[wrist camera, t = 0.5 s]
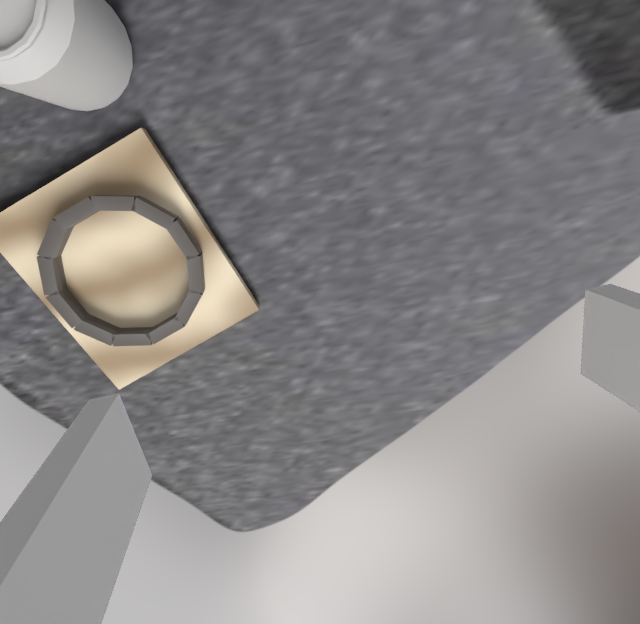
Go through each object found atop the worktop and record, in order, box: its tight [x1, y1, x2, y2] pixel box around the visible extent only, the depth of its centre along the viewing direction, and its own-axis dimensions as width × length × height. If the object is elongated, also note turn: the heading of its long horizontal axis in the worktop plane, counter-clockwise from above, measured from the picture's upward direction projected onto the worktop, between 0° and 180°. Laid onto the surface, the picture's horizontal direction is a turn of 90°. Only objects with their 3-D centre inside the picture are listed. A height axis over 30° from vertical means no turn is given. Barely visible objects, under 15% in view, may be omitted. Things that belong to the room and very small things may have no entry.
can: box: [0, 0, 133, 111], centre depth 23 cm, size 8×8×12 cm
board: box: [0, 128, 259, 389], centre depth 32 cm, size 16×14×3 cm
